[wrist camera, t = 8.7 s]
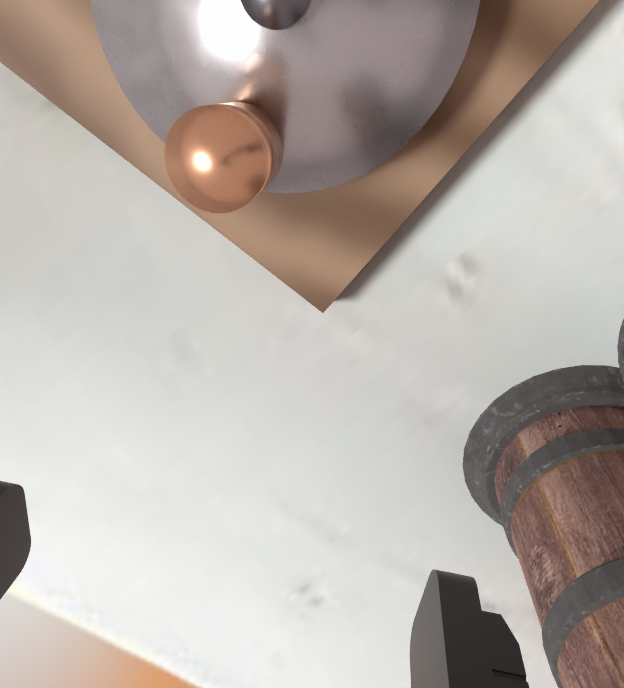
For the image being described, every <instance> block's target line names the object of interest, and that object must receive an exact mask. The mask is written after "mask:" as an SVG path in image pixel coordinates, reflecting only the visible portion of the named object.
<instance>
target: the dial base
mask: <svg viewBox="0 0 624 688" xmlns="http://www.w3.org/2000/svg"><path fill="white" fill-rule="evenodd" d="M599 1H600V0H480V4H479V9H478V14H477V19H476V23H475V27H474V30H473V33H472V37H471V40H470V43H469V46H468V49H467V52H466V55H465V57H464V59H463V62H462V64H461V66H460V68H459V70H458V73H457V75H456V77H455V79H454V81H453V83H452V85H451V87H450V88H449V90H448V91H447V93H446V95H445V96H444V98H443V100H442V101H441V103H440V105H439V106H438V108H437V109H436V110H435V112H434V113H433V114H432V115H431V117H430V118H429V119H428V121H427V122H426V123H425V125H424V126H423V127H422V128H421V129H420V130H419V131H418V132H417V133H416V134H415V135H414V136H413V137H412V138H411V139H410V140H409V142H408V143H407V144H406V145H405V146H404V147H402V148H401V149H400V150H399V151H397V152H396V153H395V154H393V155H392V156H391V157H390V158H388V159H387V160H386V161H385V162H383V163H382V164H380V165H378V166H376V167H375V168H373V169H371V170H370V171H368V172H366V173H365V174H363V175H361V176H359V177H356V178H354V179H352V180H349V181H347V182H345V183H342V184H339V185H336V186H332V187H329V188H325V189H321V190H316V191H309V192H302V193H270V192H263V191H262V192H260V193H259V194H258V195H257V196H256V197H255V198H254V199H252V200H251V201H250V202H249V203H248V204H247V205H245V206H244V207H242V208H240V209H238V210H236V211H233V212H229V213H210V212H206V211H203V210H201V209H198V208H196V207H195V206H193V205H191V204H190V203H189V202H187V201H186V200H185V199H184V198H183V197H182V196H181V195H180V194H179V193H178V192H177V190H176V189H175V187H174V186H173V184H172V182H171V180H170V178H169V175H168V173H167V169H166V165H165V153H164V151H165V143H164V142H163V141H162V140H161V139H160V138H159V137H158V136H157V135H155V134H154V133H153V131H152V130H151V129H150V128H149V127H148V125H147V124H146V123H145V122H144V121H143V119H142V118H141V117H140V116H139V115H138V113H137V112H136V110H135V109H134V107H133V106H132V104H131V103H130V101H129V100H128V98H127V97H126V95H125V94H124V92H123V91H122V89H121V87H120V85H119V83H118V81H117V79H116V77H115V76H114V74H113V72H112V70H111V68H110V66H109V63H108V61H107V58H106V55H105V53H104V50H103V48H102V45H101V43H100V40H99V36H98V33H97V29H96V26H95V22H94V19H93V15H92V11H91V5H90V0H0V62H1V63H2V64H4V65H5V66H6V67H7V68H9V69H10V70H11V71H13V72H14V73H15V74H16V75H18V76H19V77H20V78H22V79H23V80H24V81H25V82H27V83H28V84H29V85H31V86H32V87H33V88H34V89H36V90H37V91H38V92H40V93H41V94H42V95H43V96H45V97H46V98H47V99H49V100H50V101H51V102H52V103H54V104H55V105H56V106H58V107H59V108H60V109H61V110H63V111H64V112H65V113H67V114H68V115H69V116H70V117H72V118H73V119H74V120H76V121H77V122H78V123H79V124H81V125H82V126H83V127H85V128H86V129H87V130H88V131H90V132H91V133H92V134H94V135H95V136H96V137H97V138H99V139H100V140H101V141H103V142H104V143H105V144H106V145H108V146H109V147H110V148H112V149H113V150H114V151H115V152H117V153H118V154H119V155H121V156H122V157H123V158H124V159H126V160H127V161H128V162H130V163H131V164H132V165H133V166H135V167H136V168H137V169H139V170H140V171H141V172H142V173H144V174H145V175H146V176H148V177H149V178H150V179H151V180H153V181H154V182H155V183H157V184H158V185H159V186H160V187H162V188H163V189H164V190H166V191H167V192H168V193H169V194H171V195H172V196H173V197H175V198H176V199H177V200H178V201H180V202H181V203H182V204H184V205H185V206H186V207H187V208H189V209H190V210H191V211H193V212H194V213H195V214H196V215H198V216H199V217H200V218H202V219H203V220H204V221H205V222H207V223H208V224H209V225H211V226H212V227H213V228H214V229H216V230H217V231H218V232H220V233H221V234H222V235H223V236H225V237H226V238H227V239H229V240H230V241H231V242H232V243H234V244H235V245H236V246H238V247H239V248H240V249H241V250H243V251H244V252H245V253H247V254H248V255H249V256H250V257H252V258H253V259H254V260H256V261H257V262H258V263H259V264H261V265H262V266H263V267H265V268H266V269H267V270H268V271H270V272H271V273H272V274H274V275H275V276H276V277H277V278H279V279H280V280H281V281H283V282H284V283H285V284H286V285H288V286H289V287H290V288H292V289H293V290H294V291H295V292H297V293H298V294H299V295H301V296H302V297H303V298H304V299H306V300H307V301H308V302H310V303H311V304H312V305H313V306H315V307H316V308H317V309H319V310H320V311H321V312H322V313H324V311H325V310H326V309H327V308H328V307H329V306H330V305H331V304H332V302H333V301H334V300H335V299H336V298H337V297H338V296H339V294H340V293H341V292H342V291H343V290H344V289H345V288H346V287H347V285H348V284H349V283H350V282H351V281H352V280H353V279H354V278H355V276H356V275H357V274H358V273H359V272H360V271H361V270H362V268H363V267H364V266H365V265H366V264H367V263H368V262H369V261H370V259H371V258H372V257H373V256H374V255H375V254H376V253H377V252H378V250H379V249H380V248H381V247H382V246H383V245H384V244H385V242H386V241H387V240H388V239H389V238H390V237H391V236H392V235H393V233H394V232H395V231H396V230H397V229H398V228H399V227H400V226H401V224H402V223H403V222H404V221H405V220H406V219H407V218H408V216H409V215H410V214H411V213H412V212H413V211H414V210H415V209H416V207H417V206H418V205H419V204H420V203H421V202H422V201H423V200H424V198H425V197H426V196H427V195H428V194H429V193H430V192H431V190H432V189H433V188H434V187H435V186H436V185H437V184H438V183H439V181H440V180H441V179H442V178H443V177H444V176H445V175H446V174H447V172H448V171H449V170H450V169H451V168H452V167H453V166H454V164H455V163H456V162H457V161H458V160H459V159H460V158H461V157H462V155H463V154H464V153H465V152H466V151H467V150H468V149H469V148H470V146H471V145H472V144H473V143H474V142H475V141H476V140H477V138H478V137H479V136H480V135H481V134H482V133H483V132H484V131H485V129H486V128H487V127H488V126H489V125H490V124H491V123H492V122H493V120H494V119H495V118H496V117H497V116H498V115H499V114H500V112H501V111H502V110H503V109H504V108H505V107H506V106H507V105H508V103H509V102H510V101H511V100H512V99H513V98H514V97H515V96H516V94H517V93H518V92H519V91H520V90H521V89H522V88H523V86H524V85H525V84H526V83H527V82H528V81H529V80H530V79H531V77H532V76H533V75H534V74H535V73H536V72H537V71H538V70H539V68H540V67H541V66H542V65H543V64H544V63H545V62H546V61H547V59H548V58H549V57H550V56H551V55H552V54H553V53H554V51H555V50H556V49H557V48H558V47H559V46H560V45H561V44H562V42H563V41H564V40H565V39H566V38H567V37H568V36H569V35H570V33H571V32H572V31H573V30H574V29H575V28H576V27H577V25H578V24H579V23H580V22H581V21H582V20H583V19H584V18H585V16H586V15H587V14H588V13H589V12H590V11H591V10H592V9H593V7H594V6H595V5H596V4H597V3H598V2H599Z"/></svg>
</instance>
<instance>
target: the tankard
mask: <svg viewBox="0 0 624 688" xmlns="http://www.w3.org/2000/svg"><path fill="white" fill-rule="evenodd" d="M618 362H619V367H620V368H617V367H612V366H593V365H581V366H574V367H568V368H561V369H556V370H553V371H549V372H546V373H543V374H540V375H537V376H534V377H532V378H530V379H528V380H526V381H524V382H522V383H520V384H518V385H516V386H514V387H512V388H511V389H509V390H508V391H507V392H505V393H504V394H502V395H501V396H500V397H498V398H497V399H496V400H494V401H493V402H492V403H491V405H490V406H489V407H488V408H487V409H486V410H485V411H484V412H483V413H482V414H481V415H480V417H479V418H478V420H477V421H476V423H475V425H474V426H473V428H472V430H471V431H470V434H469V436H468V439H467V442H466V445H465V448H464V457H463V470H464V476H465V482H466V484H467V487H468V489H469V491H470V494H471V496H472V498H473V499H474V500H475V502H476V503H477V504H478V505H479V507H480V508H481V509H482V511H484V512H485V513H486V514H487V515H488V516H489V517H491V518H492V519H493V520H494V521H495V522H497V523H499V524H500V525H502V526H503V527H504V530H505V533H506V536H507V539H508V541H509V544H510V546H511V548H512V551H513V552H514V554H515V555H516V556H517V558H518V559H519V561H520V564H521V567H522V570H523V573H524V576H525V579H526V582H527V585H528V588H529V592H530V595H531V598H532V601H533V604H534V607H535V610H536V613H537V616H538V619H539V622H540V625H541V628H542V639H543V647H544V650H545V653H546V656H547V659H548V662H549V665H550V668H551V671H552V674H553V676H554V679H555V681H556V683H557V686H558V687H559V688H624V320H623V322H622V325H621V329H620V332H619V340H618Z"/></svg>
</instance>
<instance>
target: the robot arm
mask: <svg viewBox="0 0 624 688" xmlns="http://www.w3.org/2000/svg"><path fill="white" fill-rule="evenodd" d="M30 547H31V536H30V529H29V522H28V515H27V508H26V501H25V493H24V490H23V488H22V486H20V485H18V484H13V483H8V482H3V481H0V599H1V598H2V596H3V595H4V594H5V592H6V591H7V590H8V588H9V587H10V586H11V584H12V583H13V582H14V580H15V579H16V578H17V576H18V575H19V574H20V572H21V571H22V569H23V567H24V565H25V563H26V561H27V558H28V555H29V552H30ZM410 670H411V688H529V685H528V682H526V672H525V668H524V664H523V660H522V655H521V651H520V647H519V644H518V642H517V640H516V639H515V637H514V635H513V634H512V632H511V630H510V629H509V627H508V625H507V624H506V622H505V621H504V619H503V617H502V616H501V614H496V613H491V612H486V611H481V605H480V599H479V594H478V588H477V584H476V581H475V579H474V578H473V577H469V576H464V575H459V574H454V573H449V572H444V571H439V570H432V571H431V573H430V576H429V578H428V581H427V584H426V587H425V590H424V593H423V596H422V599H421V602H420V605H419V607H418V610H417V613H416V616H415V619H414V623H413V627H412V633H411V642H410Z"/></svg>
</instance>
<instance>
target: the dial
mask: <svg viewBox="0 0 624 688" xmlns="http://www.w3.org/2000/svg"><path fill="white" fill-rule="evenodd" d="M479 4H480V0H90V5H91V11H92V15H93V19H94V22H95V26H96V29H97V33H98V36H99V40H100V43H101V45H102V48H103V50H104V53H105V55H106V58H107V61H108V63H109V66H110V68H111V70H112V72H113V74H114V76H115V77H116V79H117V81H118V83H119V85H120V87H121V89H122V91H123V92H124V94H125V95H126V97H127V98H128V100H129V101H130V103H131V104H132V106H133V107H134V109H135V110H136V112H137V113H138V115H139V116H140V117H141V118H142V119H143V121H144V122H145V123H146V124H147V125H148V127H149V128H150V129H151V130H152V131H153V133H154V134H155V135H157V136H158V137H159V138H160V139H161V140H162V141H163V142H164V143H165V151H164V153H165V165H166V169H167V173H168V175H169V178H170V180H171V182H172V184H173V186H174V187H175V189H176V190H177V192H178V193H179V194H180V195H181V196H182V197H183V198H184V199H185V200H186V201H187V202H189V203H190V204H191V205H193V206H195V207H196V208H198V209H201V210H203V211H206V212H210V213H229V212H233V211H236V210H238V209H240V208H242V207H244V206H245V205H247V204H248V203H249V202H250V201H251V200H252V199H254V198H255V197H256V196H257V195H258V194H259V193H260V192H262V191H263V192H270V193H302V192H309V191H316V190H321V189H325V188H329V187H332V186H336V185H339V184H342V183H345V182H347V181H349V180H352V179H354V178H356V177H359V176H361V175H363V174H365V173H366V172H368V171H370V170H371V169H373V168H375V167H376V166H378V165H380V164H382V163H383V162H385V161H386V160H387V159H388V158H390V157H391V156H392V155H393V154H395V153H396V152H397V151H399V150H400V149H401V148H402V147H404V146H405V145H406V144H407V143H408V142H409V140H410V139H411V138H412V137H413V136H414V135H415V134H416V133H417V132H418V131H419V130H420V129H421V128H422V127H423V126H424V125H425V123H426V122H427V121H428V119H429V118H430V117H431V115H432V114H433V113H434V112H435V110H436V109H437V108H438V106H439V105H440V103H441V101H442V100H443V98H444V96H445V95H446V93H447V91H448V90H449V88H450V87H451V85H452V83H453V81H454V79H455V77H456V75H457V73H458V70H459V68H460V66H461V64H462V62H463V59H464V57H465V55H466V52H467V49H468V46H469V43H470V40H471V37H472V33H473V30H474V27H475V23H476V19H477V14H478V9H479Z"/></svg>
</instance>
